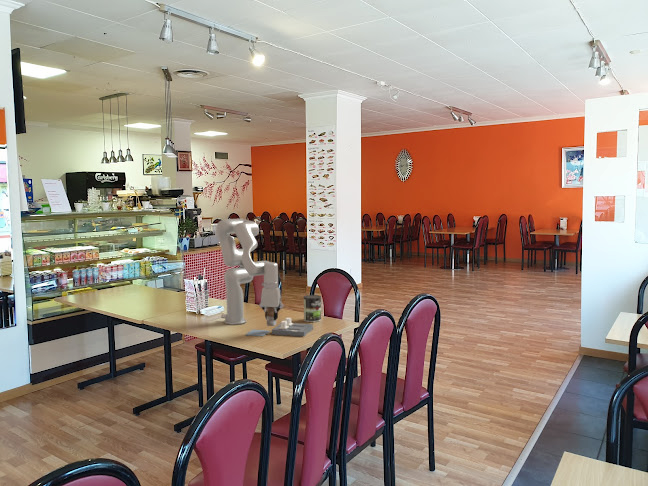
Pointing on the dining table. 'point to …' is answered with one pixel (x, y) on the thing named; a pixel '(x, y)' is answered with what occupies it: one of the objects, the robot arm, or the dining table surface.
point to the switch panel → (293, 329)
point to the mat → (257, 332)
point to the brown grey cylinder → (270, 316)
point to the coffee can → (312, 308)
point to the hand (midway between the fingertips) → (271, 318)
